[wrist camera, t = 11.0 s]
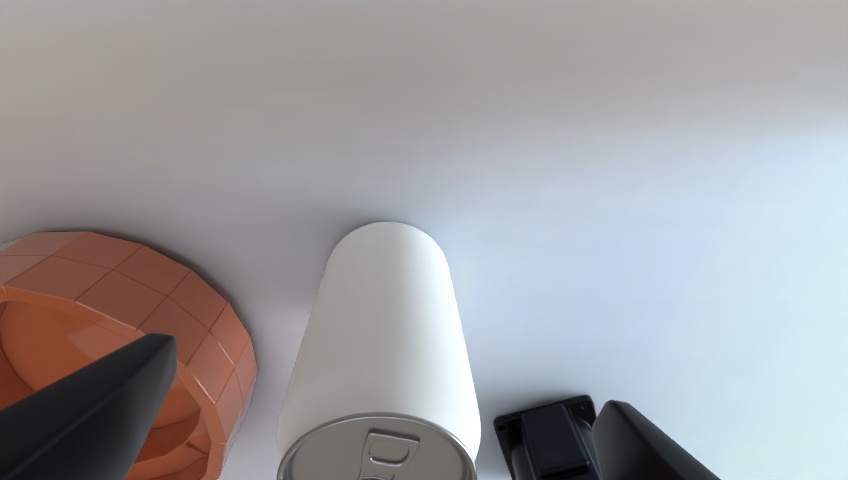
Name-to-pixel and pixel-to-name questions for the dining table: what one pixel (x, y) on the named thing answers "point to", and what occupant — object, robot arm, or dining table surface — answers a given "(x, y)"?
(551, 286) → the dining table surface
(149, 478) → the bowl
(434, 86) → the dining table surface
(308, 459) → the can
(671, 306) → the dining table surface
